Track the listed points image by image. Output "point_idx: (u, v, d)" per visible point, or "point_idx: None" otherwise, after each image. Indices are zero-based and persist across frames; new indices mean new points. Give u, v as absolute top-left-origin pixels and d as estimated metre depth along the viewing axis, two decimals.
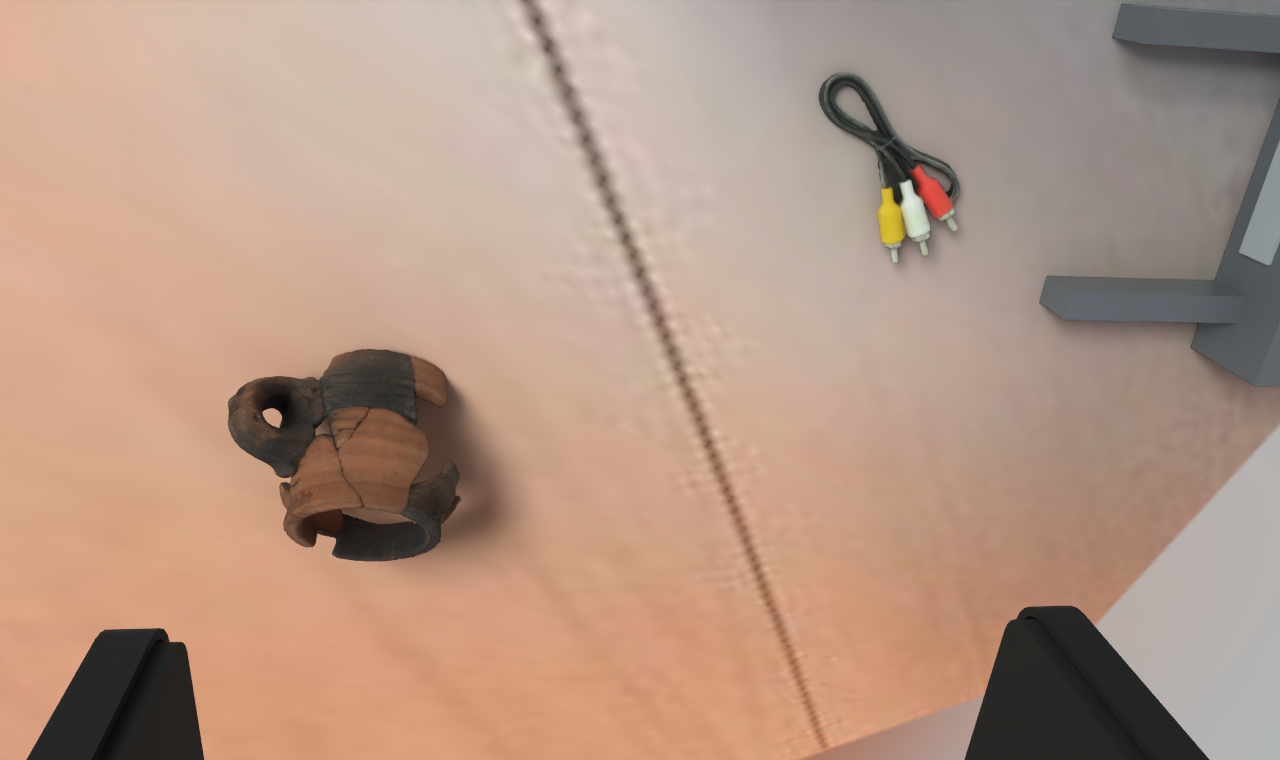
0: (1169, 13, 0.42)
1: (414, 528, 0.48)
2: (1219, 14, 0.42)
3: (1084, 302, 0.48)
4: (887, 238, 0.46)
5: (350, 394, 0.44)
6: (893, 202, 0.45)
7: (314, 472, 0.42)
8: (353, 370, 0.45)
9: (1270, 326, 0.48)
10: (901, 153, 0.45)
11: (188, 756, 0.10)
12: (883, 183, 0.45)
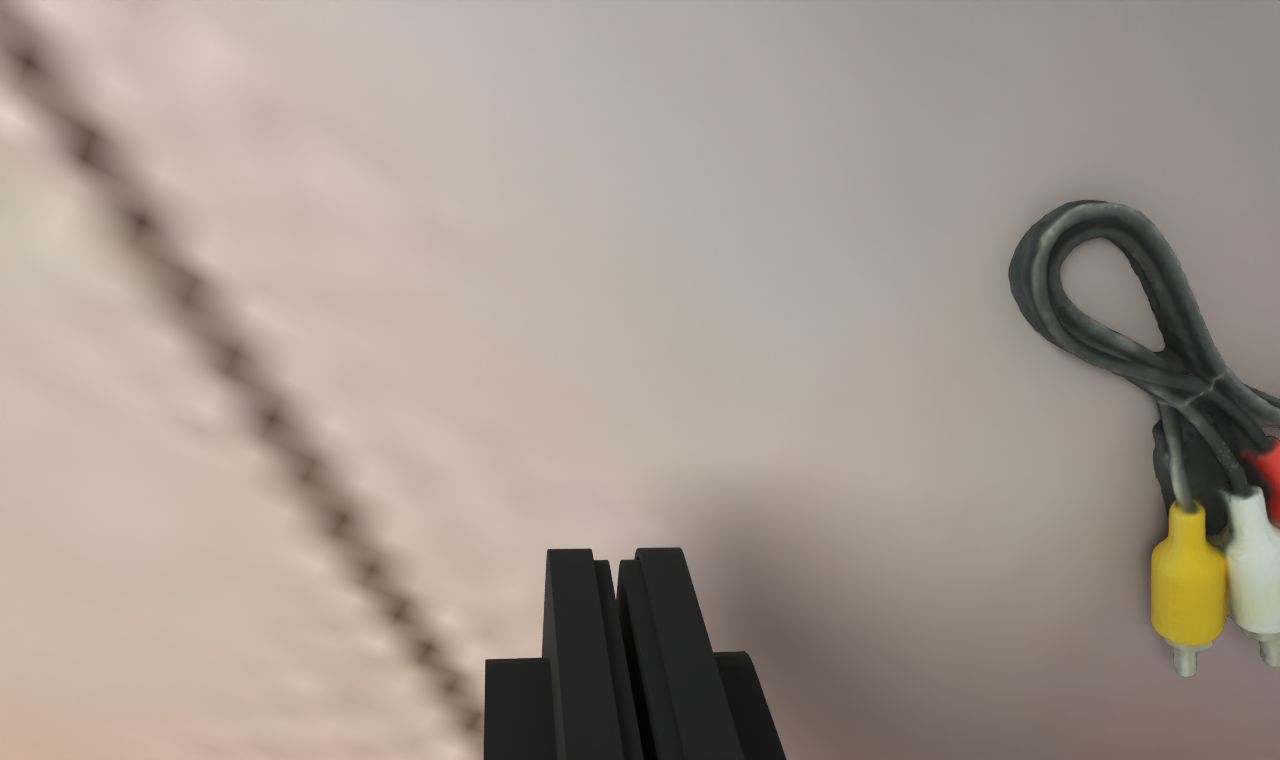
0: None
1: None
2: None
3: None
4: (1178, 632, 0.17)
5: None
6: (1205, 545, 0.16)
7: None
8: None
9: None
10: (1235, 414, 0.16)
11: None
12: (1181, 497, 0.16)
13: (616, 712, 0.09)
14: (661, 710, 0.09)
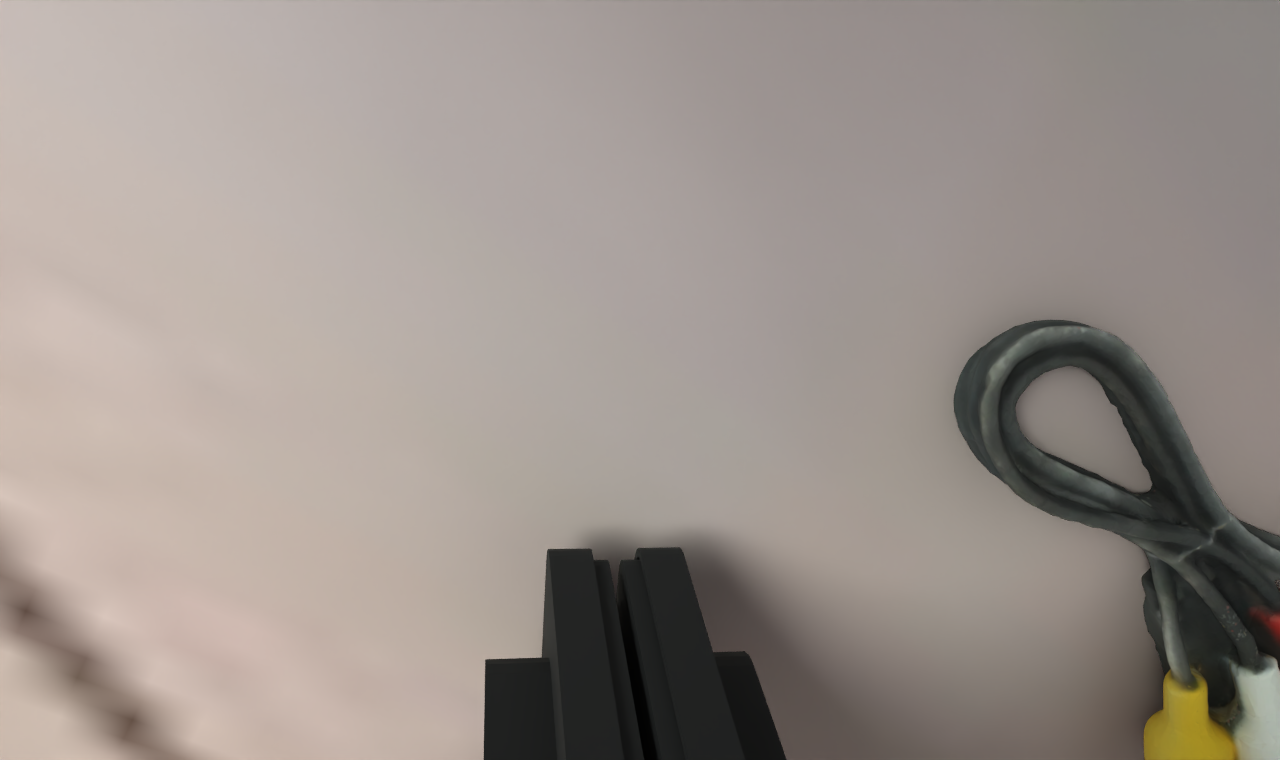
0: None
1: None
2: None
3: None
4: None
5: None
6: (1209, 725, 0.13)
7: None
8: None
9: None
10: (1242, 570, 0.13)
11: None
12: (1177, 669, 0.13)
13: (616, 712, 0.09)
14: (661, 710, 0.09)
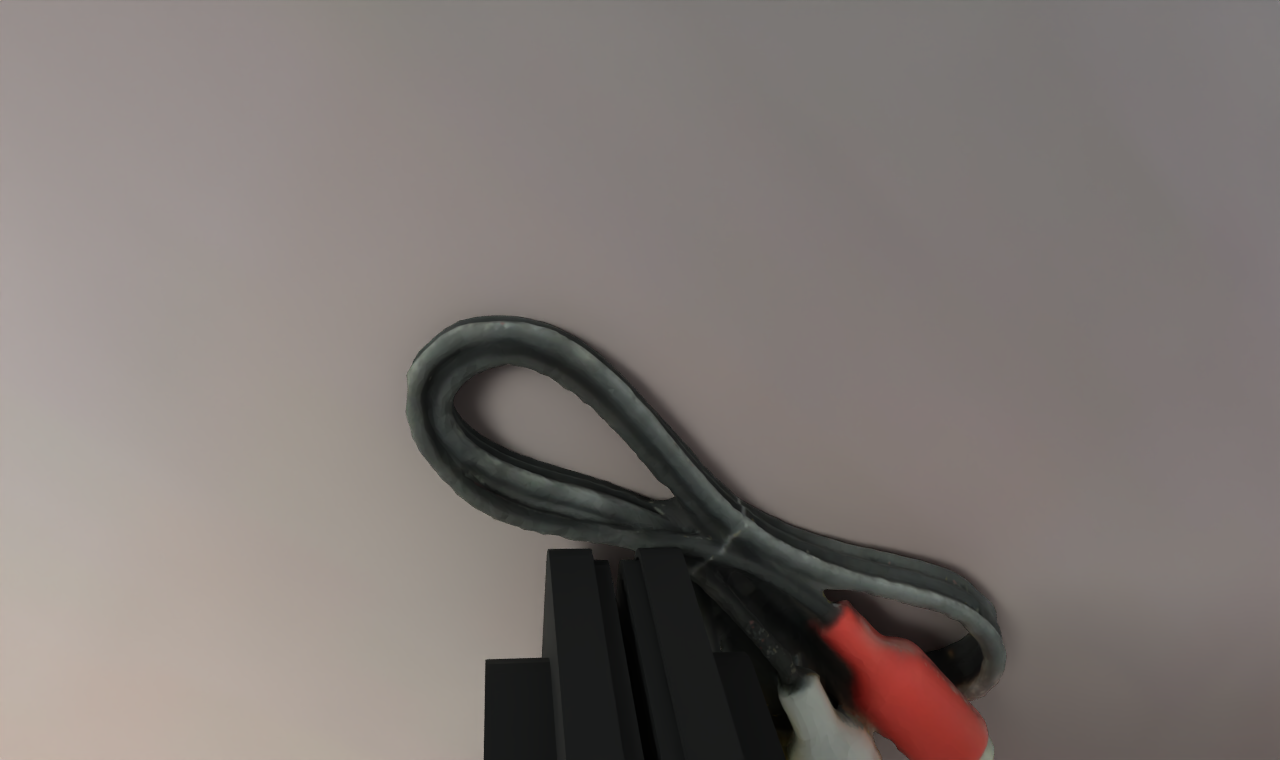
0: None
1: None
2: None
3: None
4: None
5: None
6: None
7: None
8: None
9: None
10: (773, 580, 0.12)
11: None
12: None
13: (616, 712, 0.09)
14: (661, 710, 0.09)
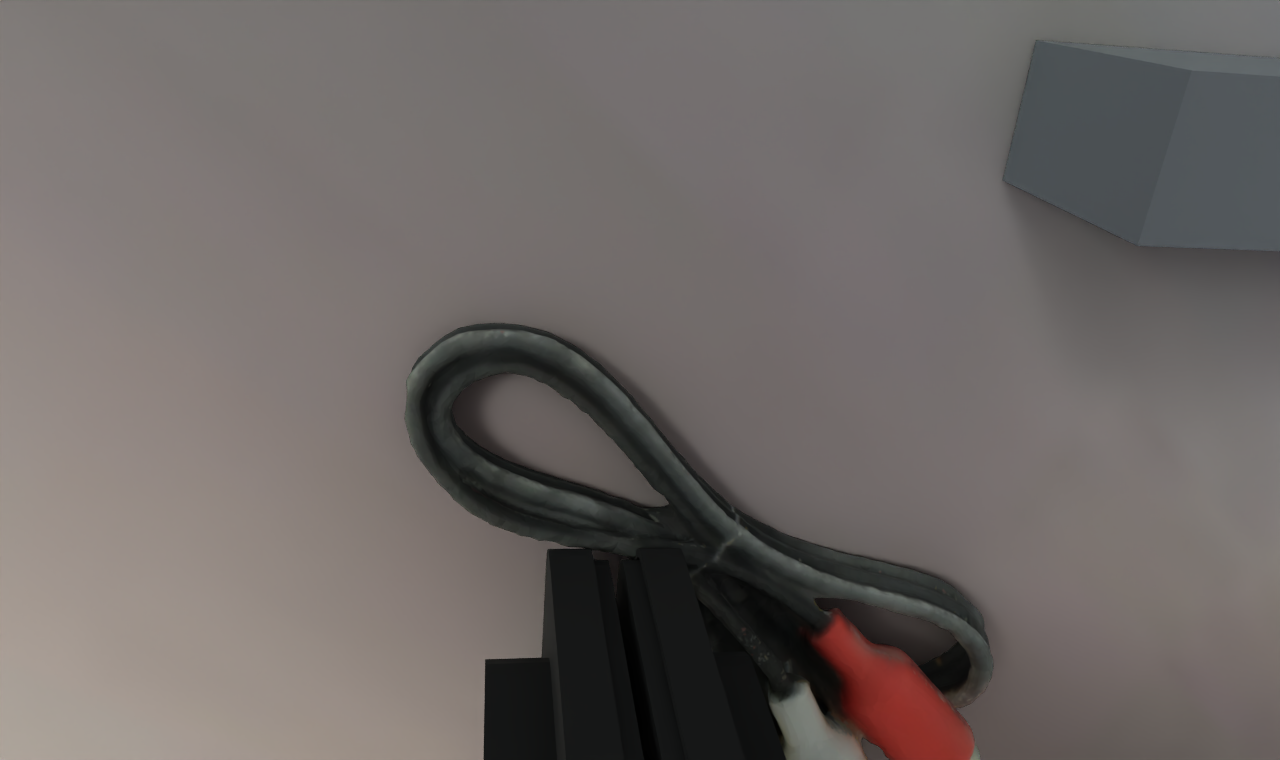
0: (1266, 94, 0.08)
1: None
2: None
3: None
4: None
5: None
6: None
7: None
8: None
9: None
10: (765, 588, 0.12)
11: None
12: None
13: (616, 712, 0.09)
14: (661, 710, 0.09)
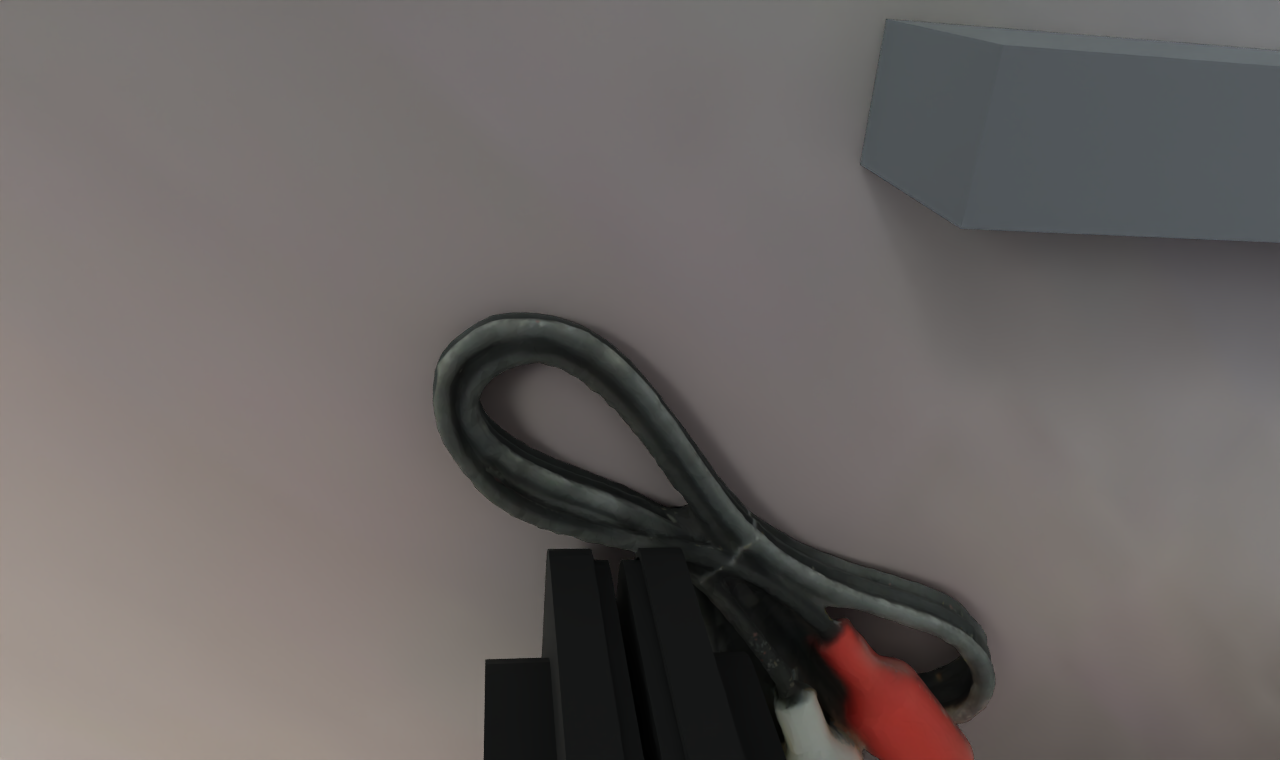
0: (1085, 71, 0.08)
1: None
2: None
3: None
4: None
5: None
6: None
7: None
8: None
9: None
10: (778, 594, 0.12)
11: None
12: None
13: (616, 712, 0.09)
14: (661, 710, 0.09)
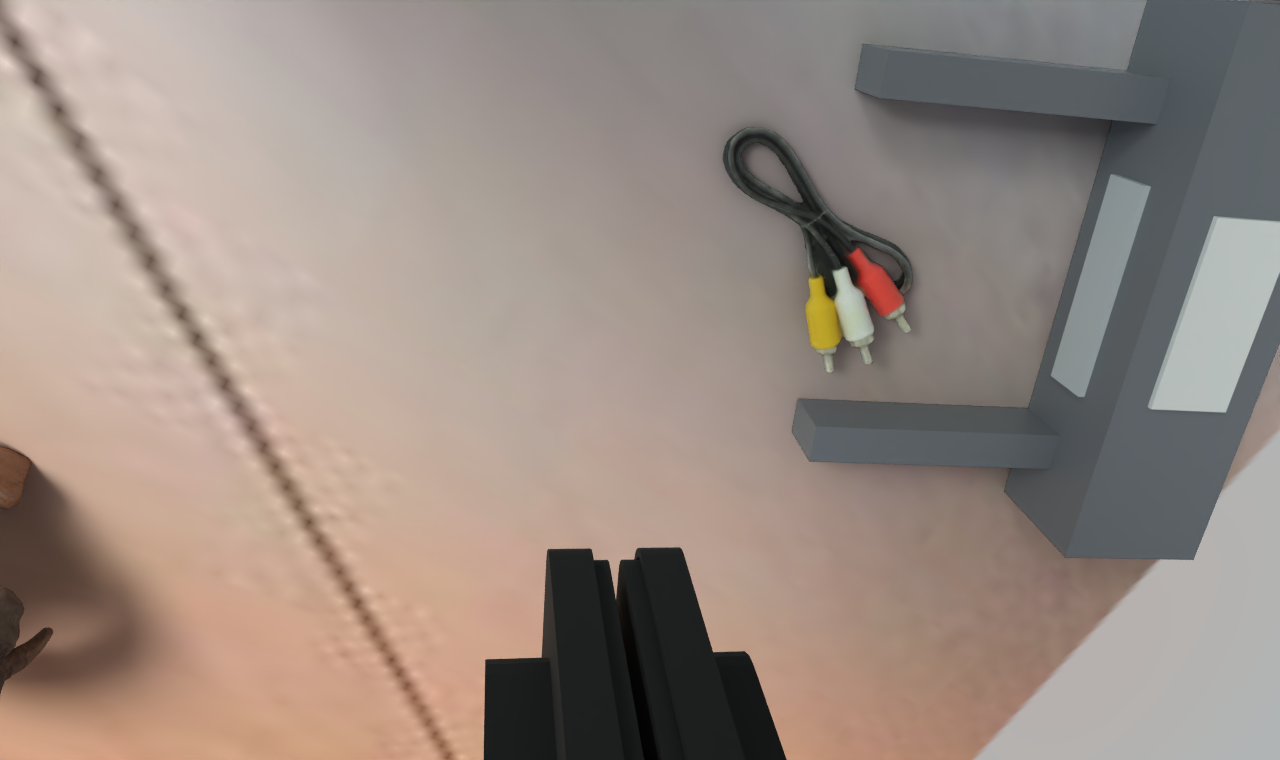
0: (910, 57, 0.30)
1: None
2: (983, 61, 0.30)
3: (834, 439, 0.36)
4: (817, 342, 0.35)
5: None
6: (824, 296, 0.34)
7: None
8: None
9: (1083, 480, 0.35)
10: (834, 232, 0.34)
11: None
12: (811, 271, 0.34)
13: (616, 712, 0.09)
14: (661, 710, 0.09)
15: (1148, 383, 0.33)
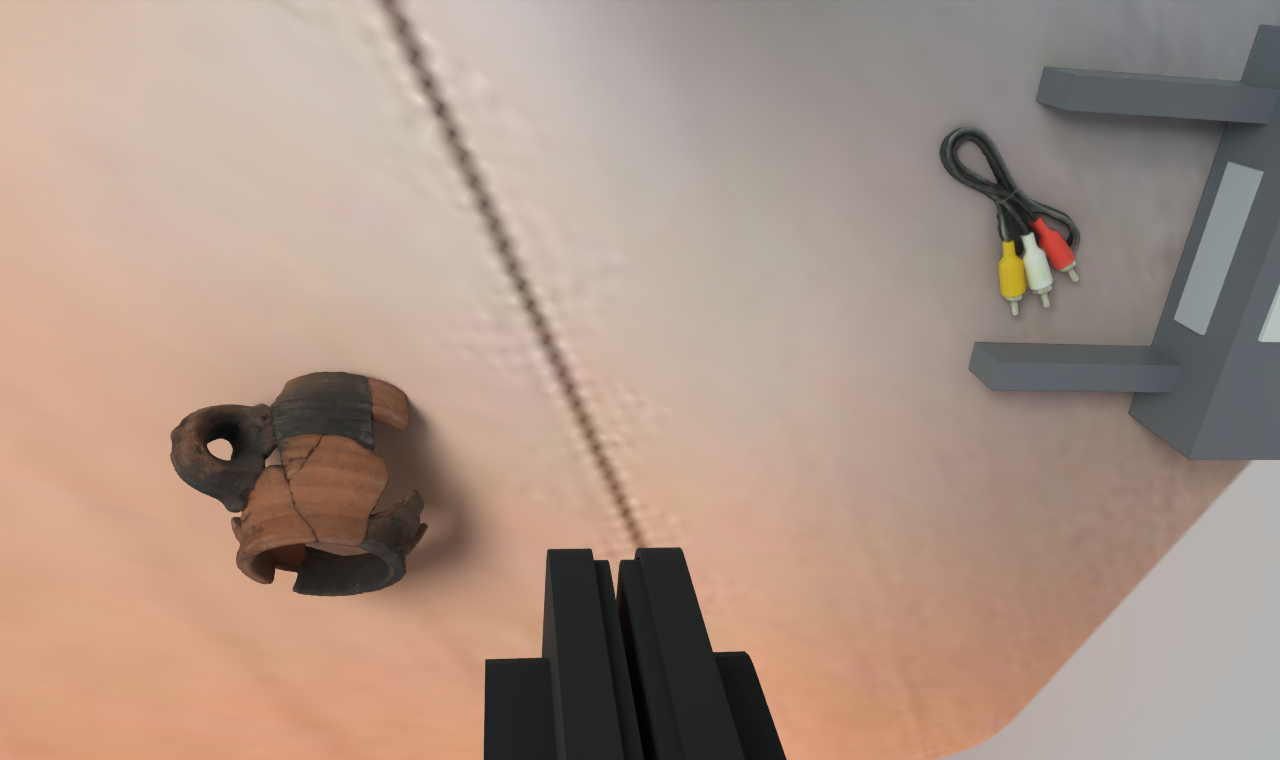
0: (1090, 79, 0.40)
1: (380, 559, 0.45)
2: (1143, 80, 0.40)
3: (1011, 372, 0.46)
4: (1008, 291, 0.45)
5: (302, 421, 0.41)
6: (1015, 255, 0.45)
7: (265, 506, 0.40)
8: (306, 395, 0.42)
9: (1204, 398, 0.46)
10: (1022, 206, 0.44)
11: None
12: (1005, 236, 0.44)
13: (616, 712, 0.09)
14: (661, 710, 0.09)
15: (1259, 322, 0.44)
